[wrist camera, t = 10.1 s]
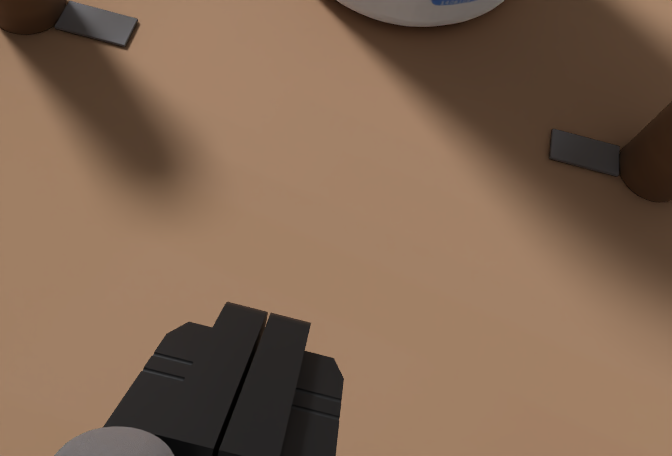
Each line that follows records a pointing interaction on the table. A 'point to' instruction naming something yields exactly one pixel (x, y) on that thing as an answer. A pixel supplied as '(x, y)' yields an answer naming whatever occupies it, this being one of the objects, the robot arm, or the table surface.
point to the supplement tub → (421, 10)
